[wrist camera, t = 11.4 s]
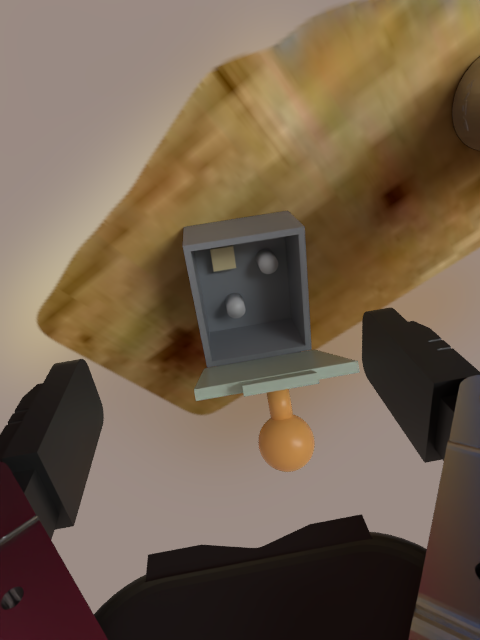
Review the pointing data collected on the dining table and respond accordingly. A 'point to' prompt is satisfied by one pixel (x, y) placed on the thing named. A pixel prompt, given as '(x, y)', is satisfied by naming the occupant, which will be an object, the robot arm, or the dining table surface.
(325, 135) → the dining table surface
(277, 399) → the lid
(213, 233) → the parts tub
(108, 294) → the dining table surface
